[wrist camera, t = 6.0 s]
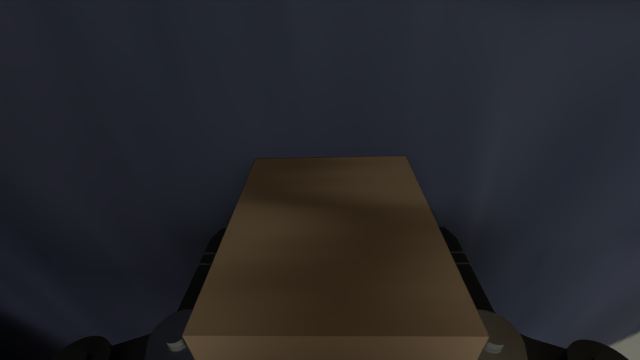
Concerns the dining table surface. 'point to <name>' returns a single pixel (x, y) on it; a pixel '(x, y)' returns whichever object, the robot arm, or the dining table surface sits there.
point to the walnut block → (334, 270)
